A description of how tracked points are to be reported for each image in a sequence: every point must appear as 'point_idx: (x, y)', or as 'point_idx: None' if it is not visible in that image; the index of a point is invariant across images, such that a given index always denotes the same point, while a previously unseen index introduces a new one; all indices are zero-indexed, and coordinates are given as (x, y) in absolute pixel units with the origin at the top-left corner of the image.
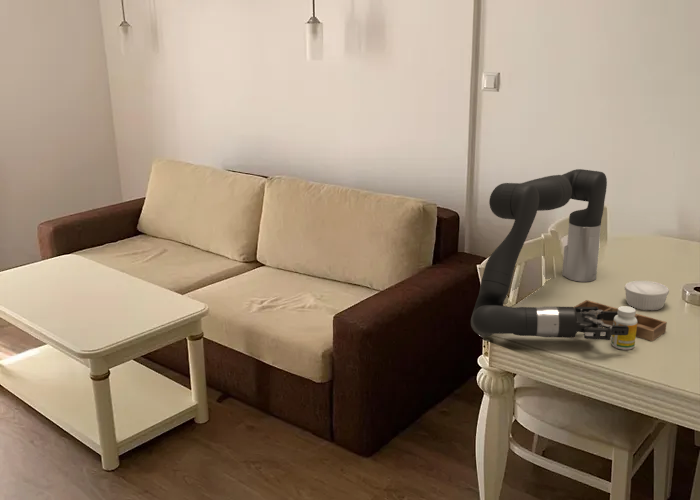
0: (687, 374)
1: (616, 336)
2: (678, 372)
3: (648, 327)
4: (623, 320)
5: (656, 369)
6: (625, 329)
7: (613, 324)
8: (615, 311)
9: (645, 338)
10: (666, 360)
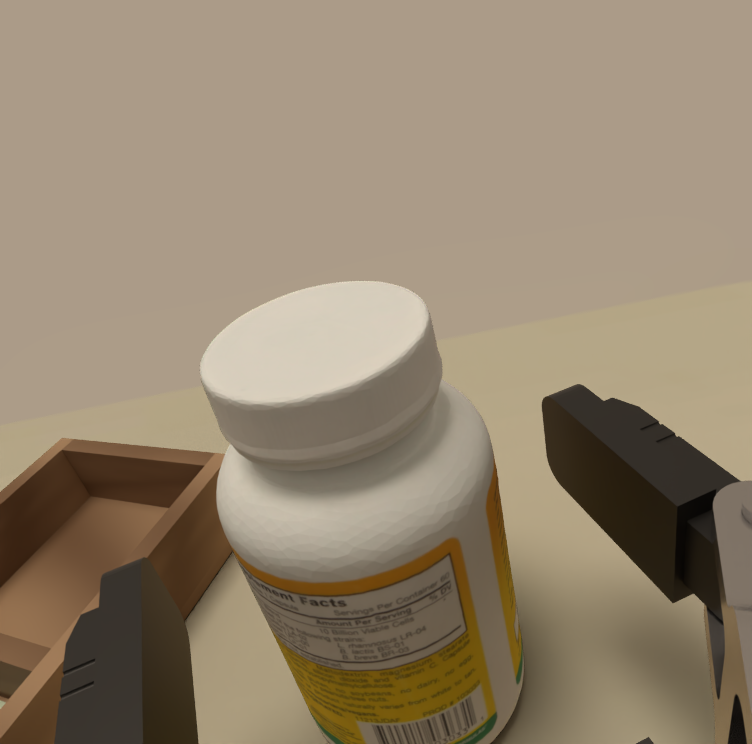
0: (636, 319)
1: (499, 632)
2: (645, 341)
3: (33, 568)
4: (459, 422)
5: (702, 406)
6: (629, 404)
7: (413, 607)
8: (104, 595)
9: (228, 547)
10: (522, 404)
